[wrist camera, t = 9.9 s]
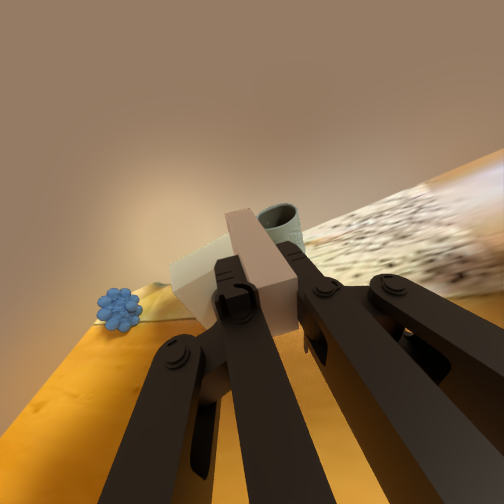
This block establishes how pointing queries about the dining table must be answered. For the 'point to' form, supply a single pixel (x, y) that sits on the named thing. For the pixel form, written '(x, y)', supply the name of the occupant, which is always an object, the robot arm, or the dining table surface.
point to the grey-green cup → (282, 224)
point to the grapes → (119, 309)
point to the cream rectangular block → (199, 278)
